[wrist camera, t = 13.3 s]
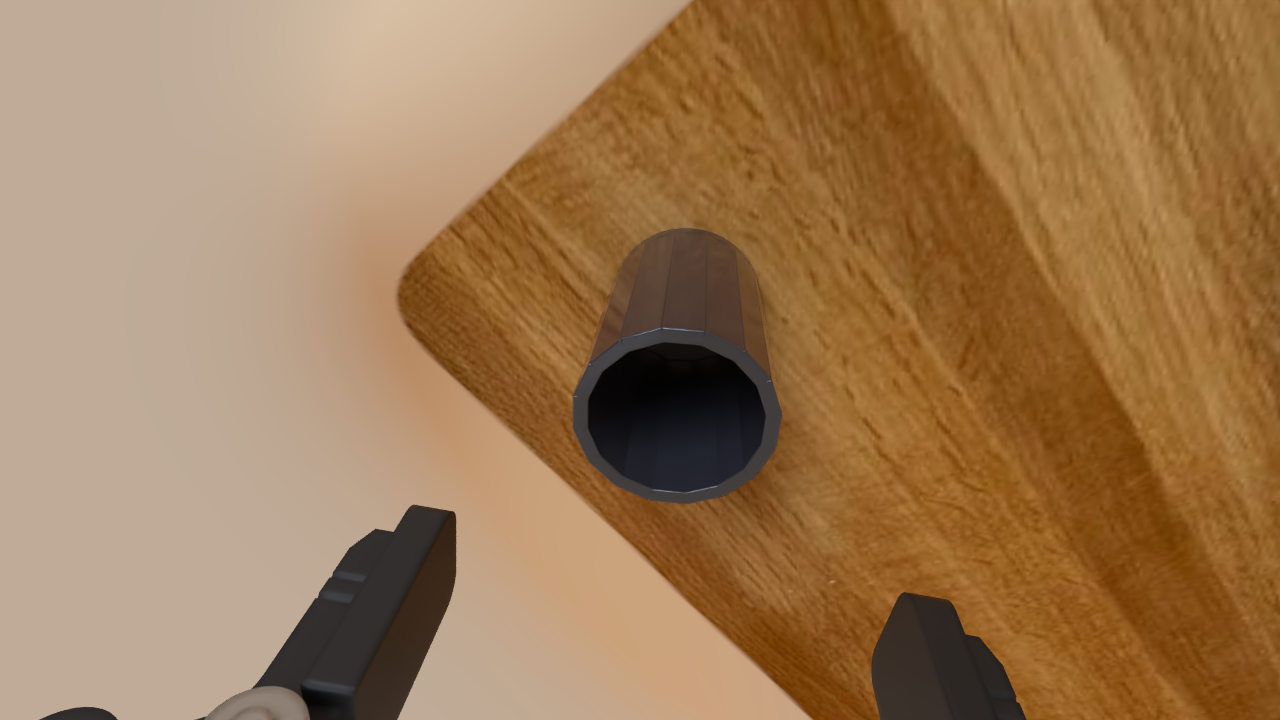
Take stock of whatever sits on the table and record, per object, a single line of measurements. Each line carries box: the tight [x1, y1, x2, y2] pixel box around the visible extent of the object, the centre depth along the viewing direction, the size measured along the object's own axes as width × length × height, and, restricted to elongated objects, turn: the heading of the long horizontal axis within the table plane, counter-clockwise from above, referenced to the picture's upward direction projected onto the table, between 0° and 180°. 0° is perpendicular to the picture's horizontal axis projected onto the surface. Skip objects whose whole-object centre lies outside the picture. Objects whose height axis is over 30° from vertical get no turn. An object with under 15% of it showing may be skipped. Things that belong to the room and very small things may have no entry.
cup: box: [573, 228, 782, 504], centre depth 20 cm, size 5×5×8 cm
